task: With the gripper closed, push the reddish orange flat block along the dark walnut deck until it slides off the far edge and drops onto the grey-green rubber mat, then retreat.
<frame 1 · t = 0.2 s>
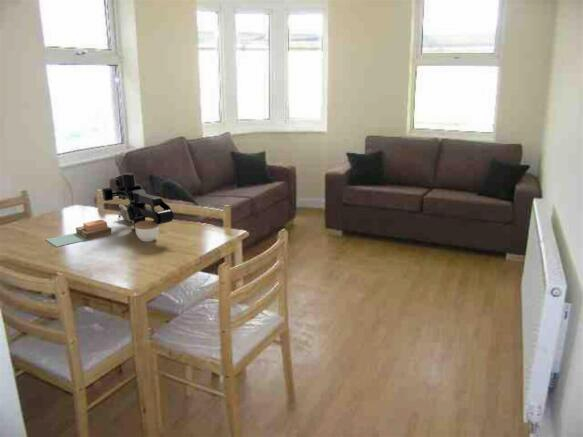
hand: (114, 190, 280), 16 cm above the table, tool horizontal, fingers open, 9 cm apart
deck: (94, 234, 261), on the table
lidded jar: (147, 240, 251), on the table, touching arm
decorative bird: (128, 221, 282), on the table
reddish orange flat block: (95, 227, 261), point 3 cm above the table, touching deck
mat: (66, 240, 252), on the table
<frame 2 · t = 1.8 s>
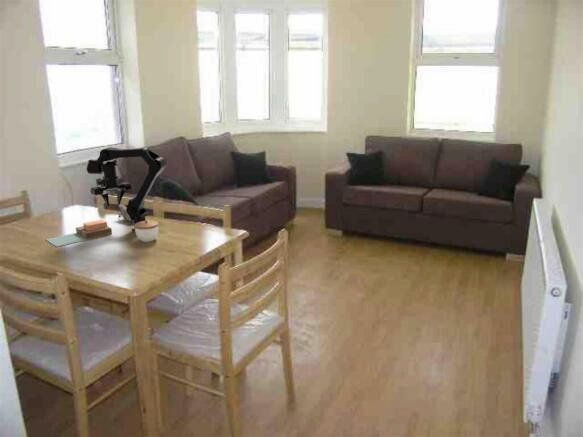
hand: (113, 205, 265), 12 cm above the table, tool pointing down, fingers open, 5 cm apart
lidded jar: (147, 240, 252), on the table
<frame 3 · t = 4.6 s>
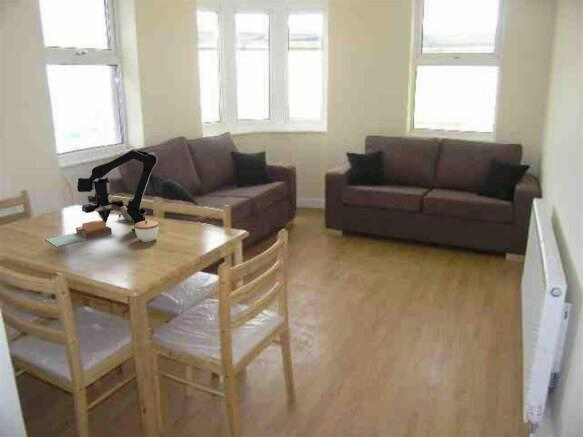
hand: (105, 222, 263), 4 cm above the table, tool pointing down, fingers closed
reddish orange flat block: (94, 227, 260), point 3 cm above the table, touching gripper
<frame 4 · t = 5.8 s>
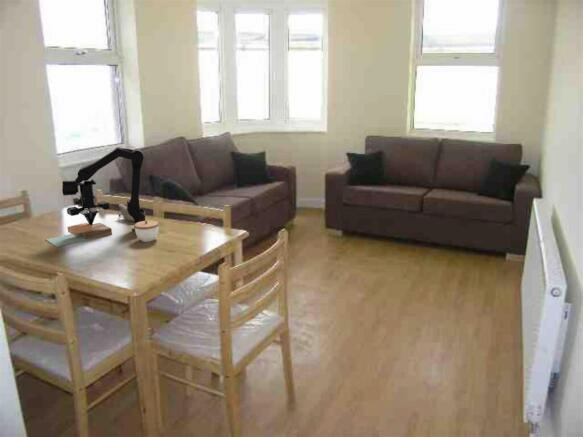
hand: (90, 225, 259), 4 cm above the table, tool pointing down, fingers closed
reddish orange flat block: (80, 231, 256), point 3 cm above the table, touching gripper
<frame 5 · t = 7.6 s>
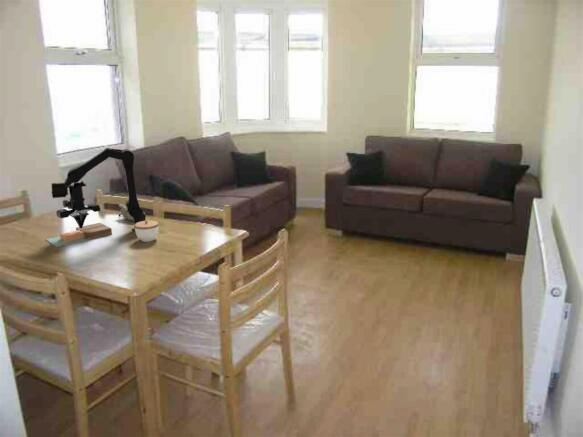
hand: (80, 228, 256), 4 cm above the table, tool pointing down, fingers closed
reddish orange flat block: (72, 238, 254), resting on mat
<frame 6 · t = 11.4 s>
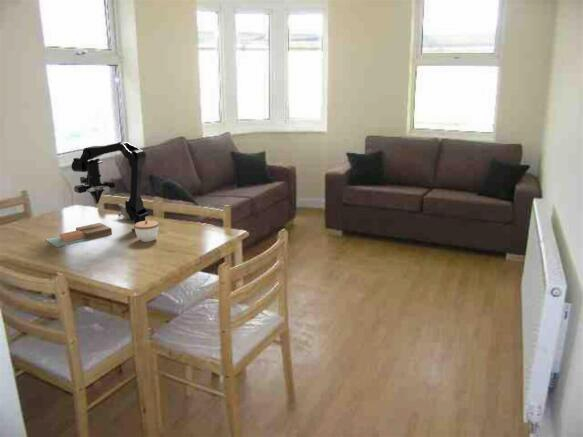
hand: (97, 203, 269), 12 cm above the table, tool pointing down, fingers closed
at the end: reddish orange flat block inside the target area on the mat (2.7 cm from its centre), point 0.3 cm above the mat's base; reddish orange flat block resting on mat; reddish orange flat block moved 11.9 cm from its start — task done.
